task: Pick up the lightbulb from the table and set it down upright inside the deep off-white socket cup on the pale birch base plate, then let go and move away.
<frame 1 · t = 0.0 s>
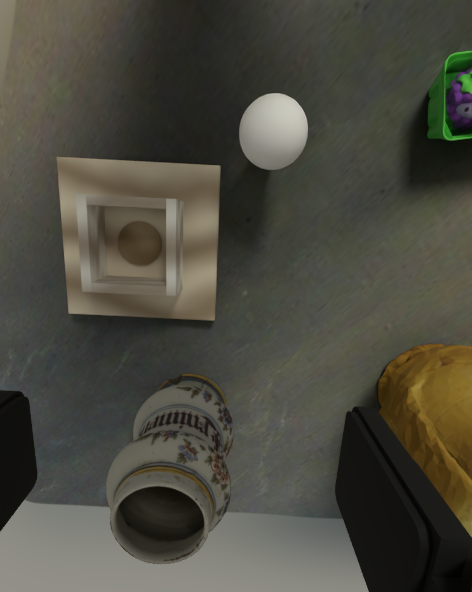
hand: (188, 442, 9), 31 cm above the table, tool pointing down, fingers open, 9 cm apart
fruit basket: (466, 104, 35), on the table
pitcher: (419, 382, 44), on the table
apothecary jar: (190, 404, 44), on the table
socket: (143, 242, 39), on the table
lightbulb: (265, 151, 37), on the table
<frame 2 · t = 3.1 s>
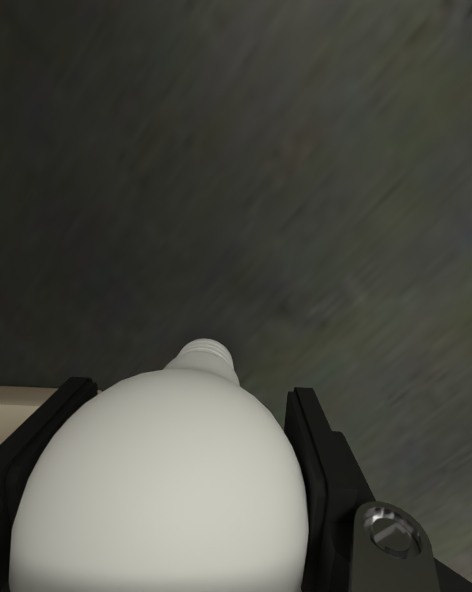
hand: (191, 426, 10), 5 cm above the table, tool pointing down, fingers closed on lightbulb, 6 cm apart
lightbulb: (207, 355, 15), on the table, touching gripper
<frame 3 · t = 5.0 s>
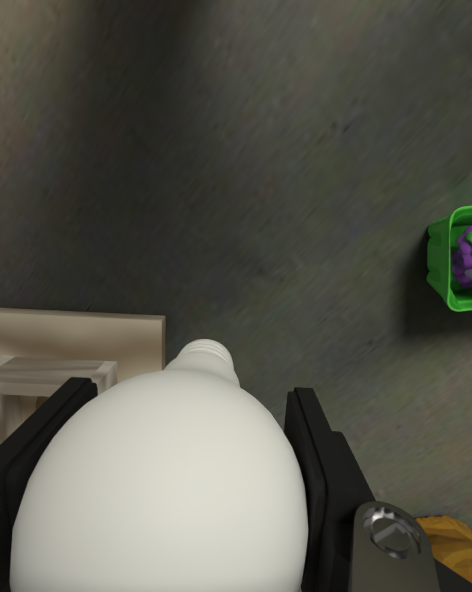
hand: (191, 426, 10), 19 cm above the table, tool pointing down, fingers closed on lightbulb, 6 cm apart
pitcher: (418, 552, 35), on the table
socket: (72, 400, 31), on the table
lightbulb: (207, 355, 15), point 14 cm above the table, touching gripper
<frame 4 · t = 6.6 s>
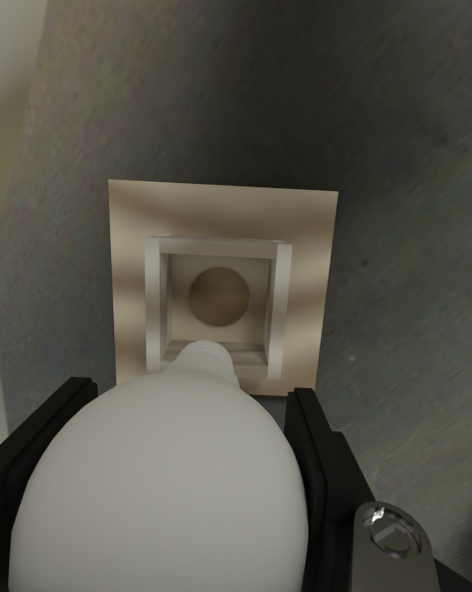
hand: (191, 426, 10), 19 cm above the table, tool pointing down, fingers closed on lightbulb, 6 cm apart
socket: (220, 293, 29), on the table
lightbulb: (207, 356, 15), point 14 cm above the table, touching gripper
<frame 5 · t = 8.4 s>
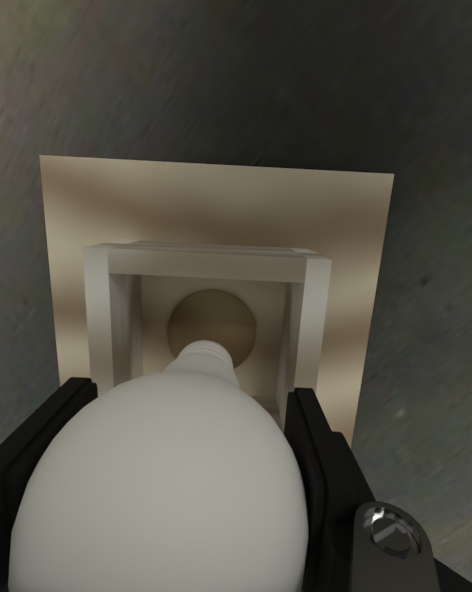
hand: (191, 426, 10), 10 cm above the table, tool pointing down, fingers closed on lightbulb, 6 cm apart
socket: (213, 323, 20), on the table
lightbulb: (207, 356, 15), point 5 cm above the table, touching gripper
when the fingers open (7 cm above the table, at t = 10.1 s): lightbulb stays where it is, resting on socket.
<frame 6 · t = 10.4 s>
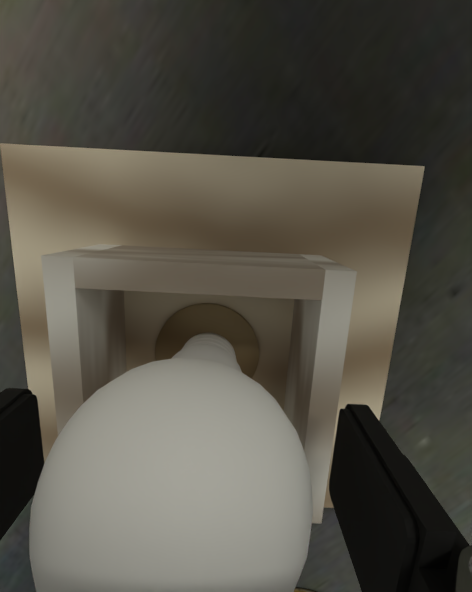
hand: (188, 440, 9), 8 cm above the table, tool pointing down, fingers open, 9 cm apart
socket: (210, 340, 17), on the table
lightbulb: (210, 349, 16), point 2 cm above the table, touching socket
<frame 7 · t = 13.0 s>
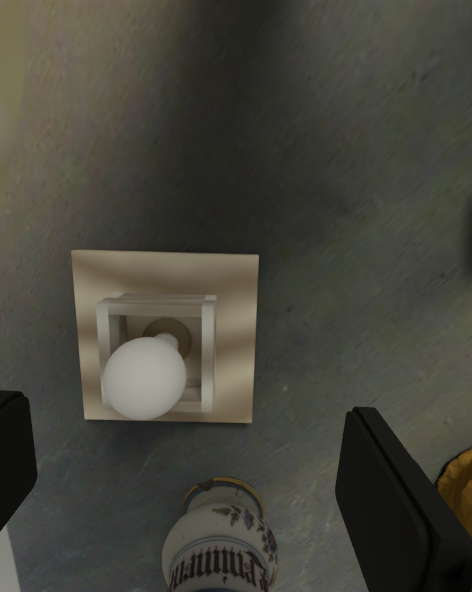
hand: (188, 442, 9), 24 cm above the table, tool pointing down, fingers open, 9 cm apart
apothecary jar: (222, 509, 39), on the table
socket: (169, 337, 34), on the table
lightbulb: (167, 340, 32), point 2 cm above the table, touching socket
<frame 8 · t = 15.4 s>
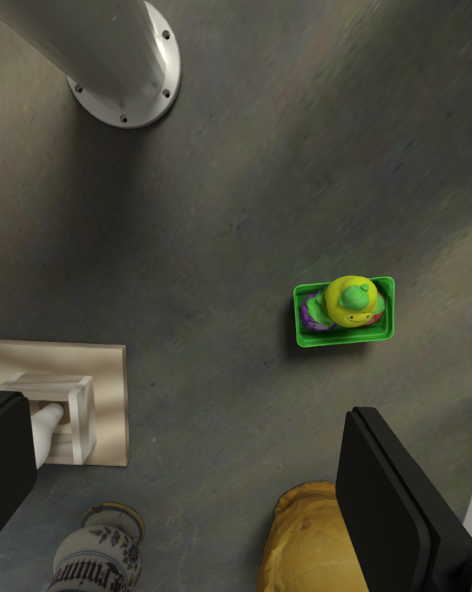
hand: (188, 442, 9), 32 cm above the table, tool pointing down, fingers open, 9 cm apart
fruit basket: (331, 297, 42), on the table
pitcher: (311, 508, 50), on the table
apothecary jar: (113, 526, 51), on the table
socket: (64, 401, 45), on the table
lightbulb: (58, 406, 44), point 2 cm above the table, touching socket
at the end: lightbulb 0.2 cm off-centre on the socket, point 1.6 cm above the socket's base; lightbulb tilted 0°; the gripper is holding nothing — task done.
